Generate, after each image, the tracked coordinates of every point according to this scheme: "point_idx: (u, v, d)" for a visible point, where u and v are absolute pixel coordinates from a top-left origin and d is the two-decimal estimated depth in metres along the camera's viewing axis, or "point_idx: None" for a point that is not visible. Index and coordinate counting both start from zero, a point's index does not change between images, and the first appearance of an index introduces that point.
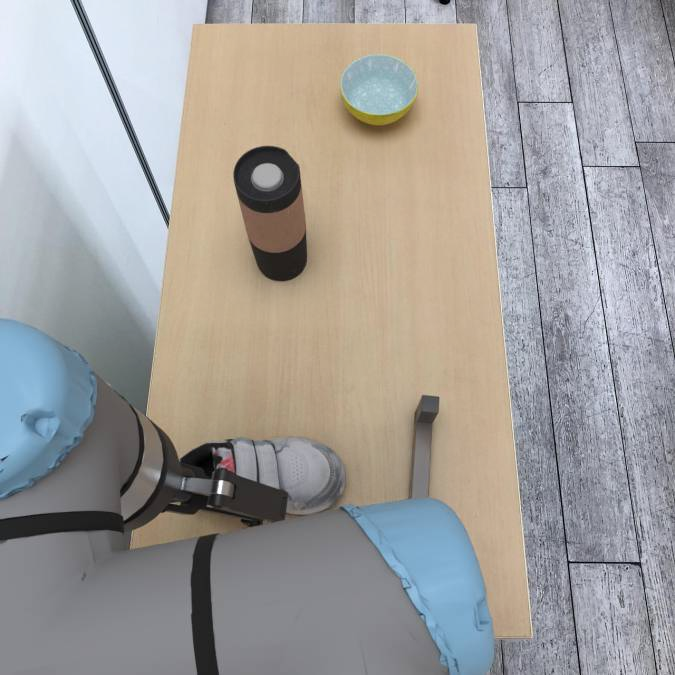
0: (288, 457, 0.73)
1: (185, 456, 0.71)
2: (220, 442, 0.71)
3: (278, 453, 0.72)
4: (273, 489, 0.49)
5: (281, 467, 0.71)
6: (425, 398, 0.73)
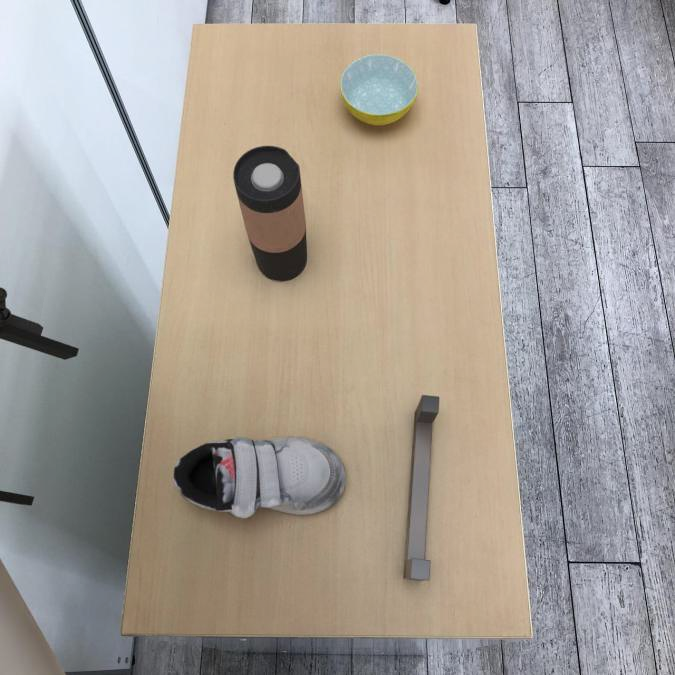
0: (288, 457, 0.73)
1: (185, 456, 0.71)
2: (220, 442, 0.71)
3: (278, 454, 0.72)
4: None
5: (281, 467, 0.71)
6: (425, 398, 0.73)
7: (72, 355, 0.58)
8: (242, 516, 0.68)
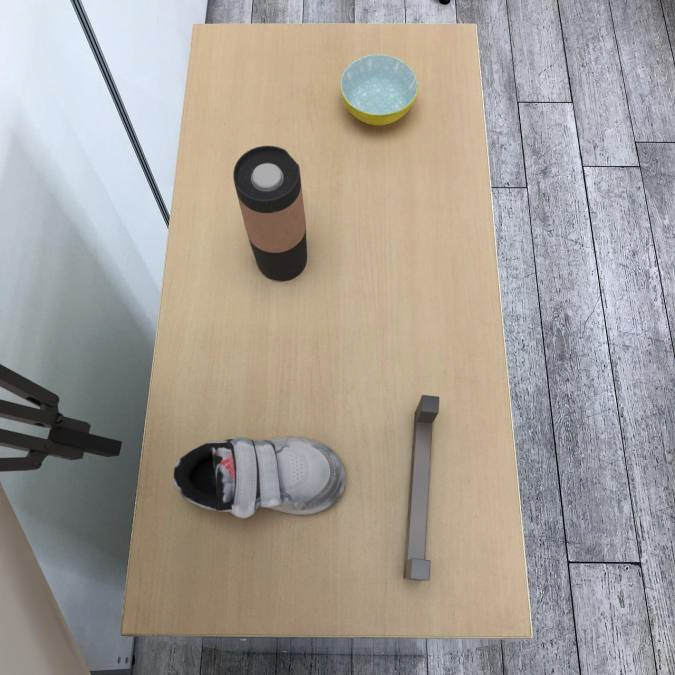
0: (288, 457, 0.73)
1: (185, 456, 0.71)
2: (220, 442, 0.71)
3: (278, 454, 0.72)
4: None
5: (281, 467, 0.71)
6: (425, 398, 0.73)
7: None
8: (242, 516, 0.68)
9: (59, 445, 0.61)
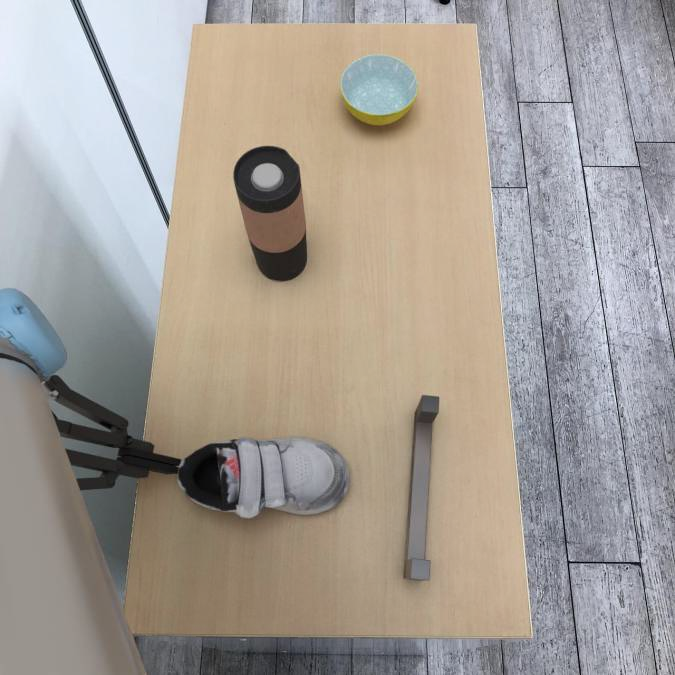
0: (292, 457, 0.73)
1: (189, 456, 0.71)
2: (224, 442, 0.71)
3: (282, 454, 0.72)
4: None
5: (285, 467, 0.71)
6: (425, 398, 0.73)
7: (176, 465, 0.73)
8: (247, 516, 0.68)
9: (128, 465, 0.69)
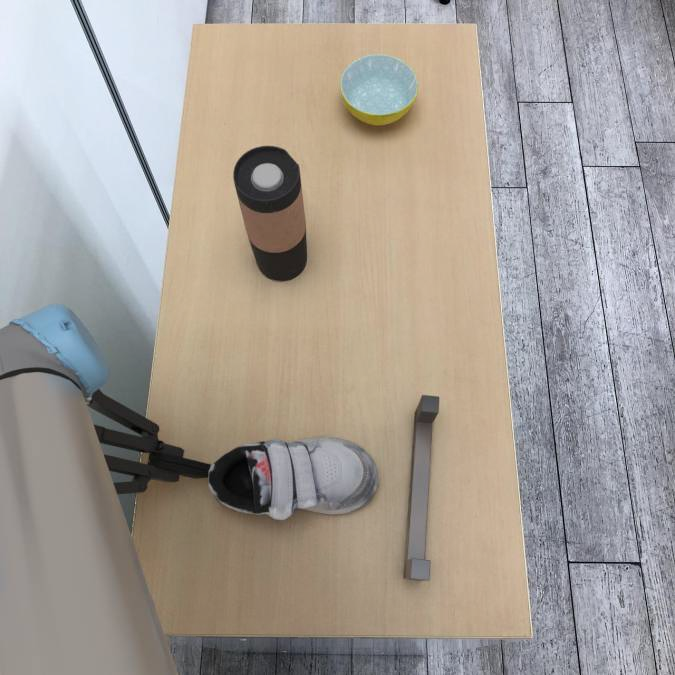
0: (321, 457, 0.73)
1: (219, 460, 0.71)
2: (253, 445, 0.71)
3: (311, 454, 0.72)
4: None
5: (315, 467, 0.71)
6: (425, 398, 0.73)
7: (206, 470, 0.73)
8: (280, 518, 0.68)
9: (159, 470, 0.69)
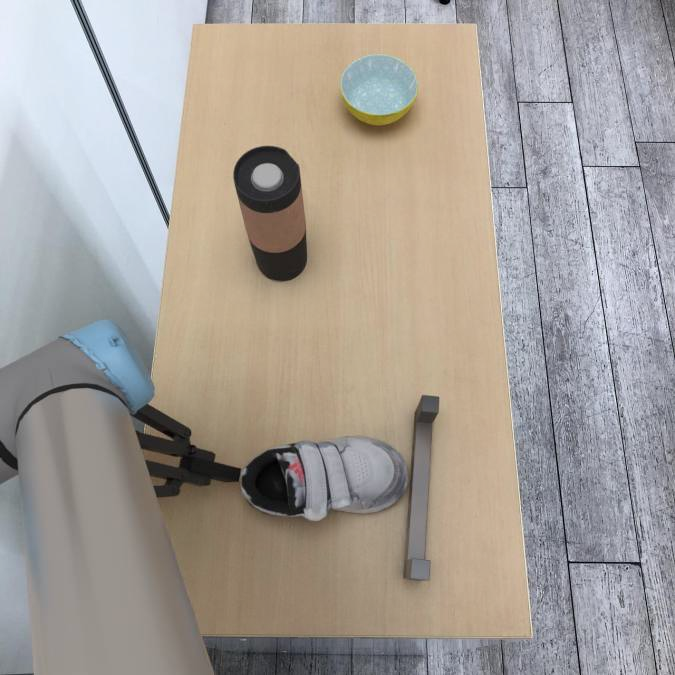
0: (351, 457, 0.73)
1: (250, 464, 0.70)
2: (284, 447, 0.71)
3: (341, 454, 0.72)
4: None
5: (346, 467, 0.71)
6: (425, 398, 0.73)
7: None
8: (315, 519, 0.68)
9: (192, 473, 0.69)
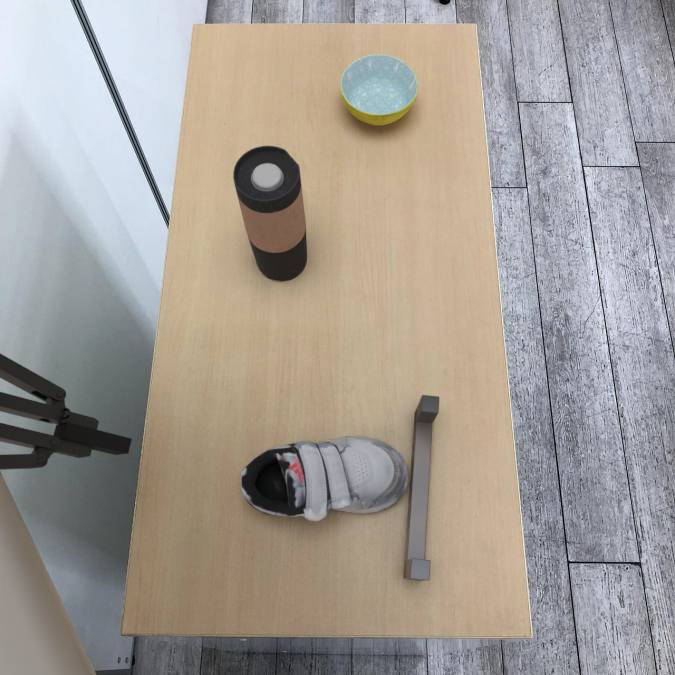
0: (351, 457, 0.73)
1: (250, 464, 0.70)
2: (284, 447, 0.71)
3: (341, 454, 0.72)
4: None
5: (346, 467, 0.71)
6: (425, 398, 0.73)
7: None
8: (315, 519, 0.68)
9: (66, 442, 0.58)
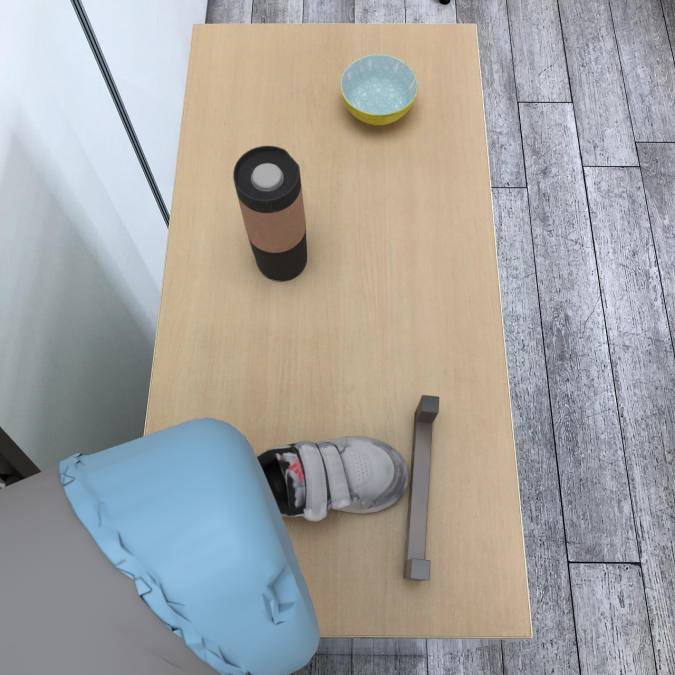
0: (351, 457, 0.73)
1: None
2: (284, 447, 0.71)
3: (341, 454, 0.72)
4: None
5: (346, 467, 0.71)
6: (425, 398, 0.73)
7: None
8: (315, 519, 0.68)
9: None
